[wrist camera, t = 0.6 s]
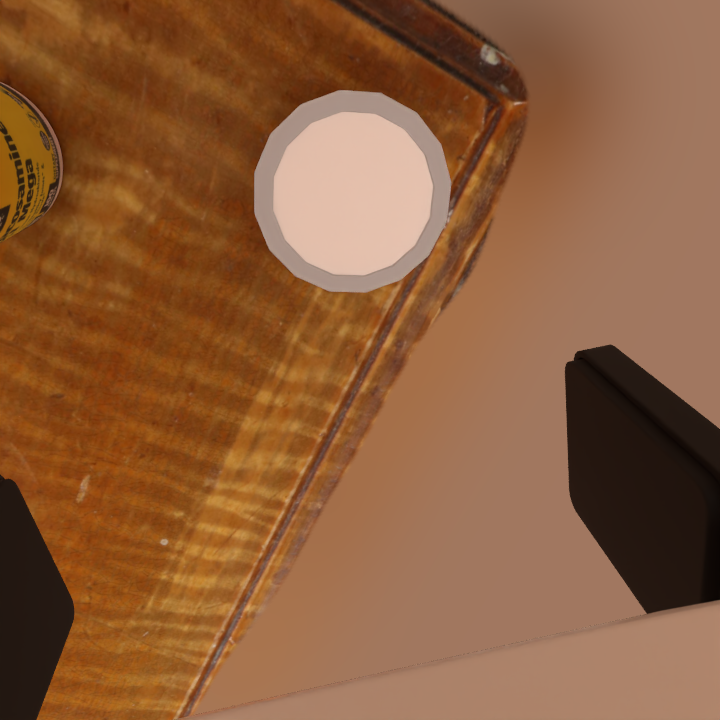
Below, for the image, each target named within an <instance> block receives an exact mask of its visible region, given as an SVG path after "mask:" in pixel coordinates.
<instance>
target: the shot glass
mask: <svg viewBox="0 0 720 720" xmlns="http://www.w3.org/2000/svg"><path fill="white" fill-rule="evenodd" d="M450 190H451V180H450V176H449V172H448V168H447V164H446V161H445V157H444V153H443V149H442V146H441V144H440V142H439V141H438V140H437V138H436V137H435V136H434V134H433V133H432V132H431V131H430V129H429V128H428V127H427V125H426V124H425V123H424V121H423V120H422V119H421V118H420V116H419V115H418V114H417V112H415V111H413V110H411V109H409V108H407V107H406V106H404V105H402V104H400V103H398V102H396V101H395V100H393V99H391V98H389V97H387V96H385V95H384V94H382V93H374V92H360V91H347V90H338V91H336V92H333V93H330V94H328V95H325V96H322V97H319V98H317V99H314V100H311V101H309V102H306V103H303V104H301V105H300V106H298V107H297V108H296V109H295V110H294V111H293V112H292V113H291V114H290V115H289V116H288V117H287V118H286V119H285V120H284V121H283V122H282V123H281V124H280V125H279V126H278V127H277V128H276V129H275V130H274V131H273V132H272V133H271V134H270V136H269V138H268V141H267V143H266V146H265V148H264V150H263V153H262V155H261V158H260V160H259V162H258V165H257V167H256V170H255V172H254V213H255V216H256V218H257V221H258V223H259V226H260V228H261V231H262V233H263V236H264V238H265V240H266V243H267V245H268V248H269V250H270V251H271V252H272V253H273V254H274V255H275V256H276V257H277V258H278V259H279V260H280V261H281V262H282V263H283V264H284V265H285V266H286V267H287V268H288V269H289V270H290V271H291V272H292V273H293V274H294V275H295V276H296V277H298V278H300V279H302V280H305V281H307V282H309V283H312V284H314V285H316V286H318V287H321V288H323V289H325V290H328V291H335V292H369V291H371V290H374V289H377V288H380V287H382V286H385V285H388V284H391V283H393V282H396V281H399V280H401V279H402V278H403V277H404V276H406V275H407V274H408V273H409V272H410V271H411V270H413V269H414V268H415V267H416V266H417V265H418V264H419V263H421V262H422V261H423V260H424V259H425V258H426V257H427V256H429V254H430V252H431V250H432V248H433V246H434V245H435V243H436V241H437V239H438V237H439V235H440V233H441V231H442V230H443V228H444V226H445V224H446V222H447V215H448V207H449V199H450Z"/></svg>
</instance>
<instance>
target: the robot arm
mask: <svg viewBox="0 0 720 720" xmlns="http://www.w3.org/2000/svg"><path fill="white" fill-rule="evenodd" d="M565 383H566V411H567V438H568V439H567V440H568V468H569V491H570V497H571V500H572V504H573V506H574V509H575V510H576V512H577V513H578V515H579V517H580V518H581V519H582V521H583V522H584V524H585V525H586V527H587V528H588V530H589V531H590V532H591V534H592V535H593V537H594V538H595V540H596V541H597V542H598V544H599V545H600V547H601V548H602V550H603V551H604V552H605V554H606V555H607V557H608V558H609V560H610V561H611V563H612V564H613V565H614V567H615V568H616V570H617V571H618V573H619V574H620V576H621V577H622V578H623V580H624V581H625V583H626V584H627V586H628V587H629V588H630V590H631V591H632V593H633V594H634V596H635V597H636V599H637V600H638V601H639V603H640V604H641V606H642V607H643V608H644V610H645V611H646V613H647V614H645V615H640V616H636V617H631V618H626V619H622V620H617V621H612V622H608V623H603V624H599V625H594V626H590V627H585V628H581V629H576V630H571V631H567V632H563V633H558V634H554V635H549V636H544V637H540V638H535V639H531V640H526V641H522V642H517V643H512V644H508V645H503V646H499V647H495V648H490V649H485V650H481V651H476V652H472V653H467V654H463V655H458V656H454V657H449V658H445V659H440V660H436V661H431V662H427V663H422V664H417V665H413V666H408V667H404V668H399V669H395V670H390V671H386V672H381V673H377V674H373V675H368V676H364V677H360V678H355V679H350V680H346V681H342V682H337V683H333V684H328V685H324V686H319V687H315V688H311V689H306V690H302V691H297V692H293V693H288V694H284V695H280V696H275V697H271V698H267V699H262V700H258V701H254V702H249V703H245V704H240V705H236V706H231V707H227V708H223V709H218V710H214V711H210V712H205V713H201V714H196V715H192V716H188V717H183V718H179V719H174V720H720V429H719V428H718V427H717V426H715V425H714V424H713V423H711V422H710V421H709V420H708V419H706V418H705V417H704V416H703V415H701V414H700V413H699V412H698V411H696V410H695V409H694V408H692V407H691V406H690V405H689V404H687V403H686V402H685V401H684V400H682V399H681V398H680V397H678V396H677V395H676V394H675V393H673V392H672V391H671V390H669V389H668V388H667V387H666V386H664V385H663V384H662V383H661V382H659V381H658V380H657V379H655V378H654V377H653V376H652V375H650V374H649V373H648V372H646V371H645V370H644V369H643V368H641V367H640V366H639V365H637V364H636V363H635V362H634V361H633V360H631V359H630V358H629V357H627V356H626V355H625V354H624V353H622V352H621V351H620V350H619V349H617V348H616V347H615V346H613V345H606V346H602V347H596V348H592V349H587V350H582V351H578V352H577V353H576V354H575V357H574V361H570V362H567V364H566V367H565ZM73 620H74V605H73V601H72V598H71V596H70V594H69V591H68V589H67V587H66V585H65V583H64V581H63V579H62V577H61V575H60V573H59V571H58V569H57V567H56V565H55V563H54V560H53V558H52V556H51V554H50V552H49V550H48V548H47V546H46V544H45V542H44V540H43V538H42V536H41V534H40V531H39V529H38V527H37V525H36V523H35V521H34V519H33V517H32V515H31V513H30V511H29V509H28V507H27V505H26V503H25V500H24V498H23V496H22V494H21V492H20V490H19V488H18V486H17V485H16V483H15V482H14V481H13V480H11V479H4V478H3V477H2V476H1V475H0V720H36V719H37V717H38V714H39V711H40V709H41V706H42V703H43V701H44V698H45V695H46V693H47V690H48V687H49V685H50V682H51V679H52V677H53V674H54V671H55V669H56V666H57V663H58V661H59V658H60V655H61V653H62V650H63V647H64V645H65V642H66V639H67V637H68V634H69V631H70V629H71V626H72V623H73Z"/></svg>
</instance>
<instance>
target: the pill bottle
mask: <svg viewBox="0 0 720 720" xmlns="http://www.w3.org/2000/svg"><path fill="white" fill-rule="evenodd" d="M62 176H63V160H62V153H61V149H60V145H59V142H58V140H57V137H56V135H55V133H54V131H53V129H52V127H51V126H50V124H49V122H48V121H47V119H46V118H45V117H44V115H43V114H42V113H41V111H40V110H39V109H38V108H37V107H36V106H35V105H34V104H33V103H32V102H31V101H30V100H29V99H27V98H26V97H25V96H24V95H22V94H21V93H19V92H18V91H16V90H15V89H13V88H11V87H10V86H8V85H6V84H4V83H2V82H0V243H1V242H3V241H4V240H6V239H8V238H10V237H11V236H13V235H15V234H16V233H18V232H20V231H22V230H23V229H25V228H27V227H29V226H30V225H32V224H33V223H35V222H36V221H37V220H39V219H40V218H41V217H42V216H43V215H44V214H45V213H46V212H47V211H48V210H49V209H50V207H51V206H52V205H53V203H54V201H55V200H56V198H57V196H58V193H59V190H60V187H61V183H62Z"/></svg>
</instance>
